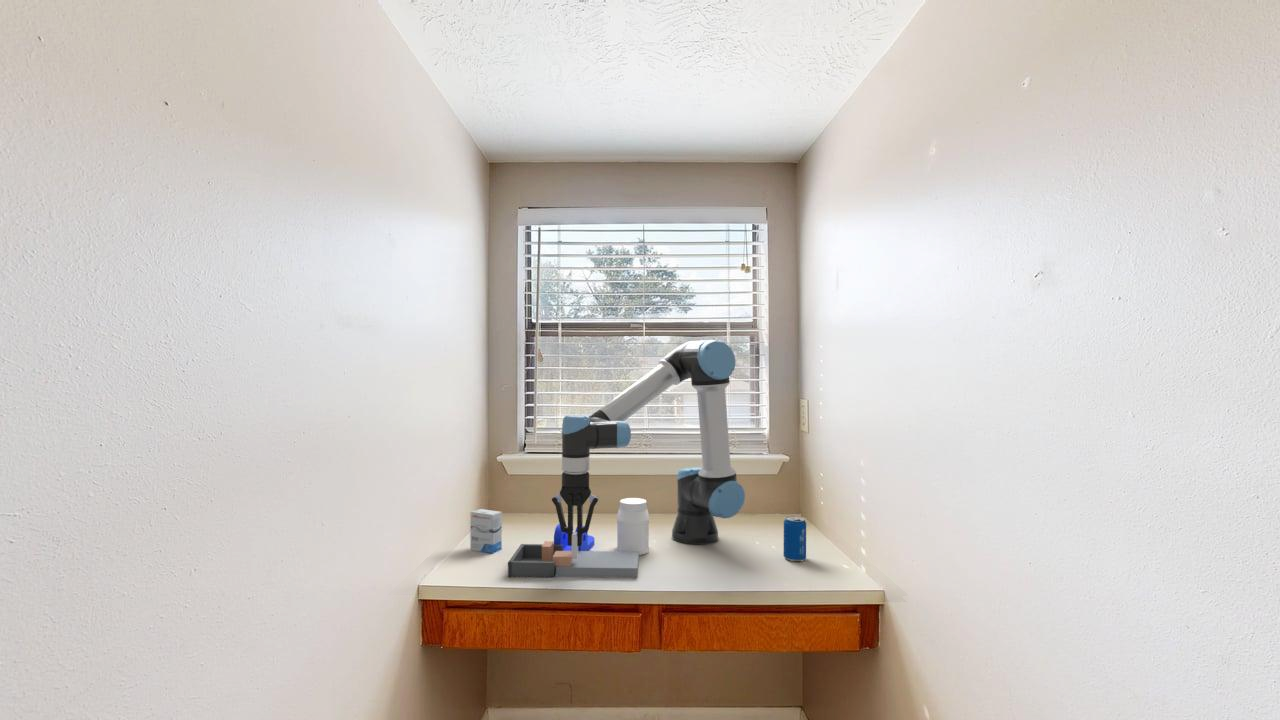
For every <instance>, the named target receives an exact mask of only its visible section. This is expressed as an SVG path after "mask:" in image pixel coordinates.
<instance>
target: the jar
mask: <svg viewBox="0 0 1280 720" xmlns="http://www.w3.org/2000/svg"><path fill="white" fill-rule="evenodd" d="M649 514H650V513H649V510H648V508H647V500H646V499H645V498H639V497H626V498H622V499H620V500H619V508H618V511H617V517H616V520H617V521H616V522H617V526H616V527H617V539H616V542H617V543H616V551H621V552H639V556H643V555H646V553H647V554H648V553H650V552H649V551H650V548H649V540H650V539H649V535H650V534H649V529H650V528H649V525H650V524H649V523H650V517H649V516H650V515H649ZM642 554H643V555H642Z"/></svg>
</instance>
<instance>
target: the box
mask: <svg viewBox="0 0 1280 720" xmlns="http://www.w3.org/2000/svg"><path fill="white" fill-rule="evenodd" d="M543 544H544V543H540V544H539V543H537V544H536V543H535V544H534V543H521V544H520V545H519V546H518V548H517V549H516V551H514V553H513V555H512V556H511V557H510V559H509V560H508V562H507V578H540V579H541V578H545V579H548V578H549V579H550V578H551V579H555V577H556V566H555V562H553V561H552V562H546V561H542V546H543ZM555 551H563V545H556V544H554V553H555ZM554 553H553V555H554Z"/></svg>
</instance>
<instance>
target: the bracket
mask: <svg viewBox="0 0 1280 720" xmlns="http://www.w3.org/2000/svg"><path fill="white" fill-rule="evenodd" d="M566 526H567V527H568V524H566ZM583 527H585V525H583ZM583 527H582V528H583ZM574 532H577V527H576V528H575V531H574ZM588 533H589V531H588V532H585V533H583V534H582V544H581V546H578V551H591V549H592V548H593V547H594V546H595V537H594V536H592V535H589V534H588ZM553 541H554V544H556V545H563V551H572V546H568V534H567V533H565V532H562V531H561V528H560V523H558V524H557V525H556V527H555V529H554V534H553Z"/></svg>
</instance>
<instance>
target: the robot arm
mask: <svg viewBox="0 0 1280 720" xmlns="http://www.w3.org/2000/svg"><path fill="white" fill-rule="evenodd" d="M735 368H736V357H735V353H734V352H733V349H732V348H731V347H730V346H729V345H728V344H727V343H725V342H723V341H722V340H715V339H708V340H690V341H687V342H685V343H683V344H681V345H679V346H678V347H676V348H675V349H674V350H672V351H671V352H669V353H668V354H667V355H666V356H664V357H663V358H661V359H660V360H659V361H658V365H657V366H656V367H655V368H653V369H652V370H651V371H649V372H648V373H646V374H645V375H644V376H642V377H641V378H640V379H638V380H637V381H636V382H634V383H633V384H632V385H630V386H629V387H628V388H626V389H625V390H624V391H622V392H621V393H619V394H618V395H617V396H616V397H614V398H613V399H611V400H610V401H609V402H608V403H606V404H605V405H604V406H602V407H601V408H599V409H597V410H596V411H595V412H594V413H592V414H591V415H587V414H585V415H584V414H569V415H566V416H564V417H563V418H562V426H561V427H562V428H561V443H562V444H561V445H562V447H561V450H562V451H561V453H562V454H561V470H562V471H563V472H562V473H561V489H560V491H559V493H558V494H557V495H556V494H555V495H553V497H552V499H551V501H552V503H553V504H554V507H555V510H556V514H557V518H558V524H560V528H561V531H562V532H565V533H567V534H568V546H572V559H577V558H578V546H581V544H582V534H583V533H585V532H588V533H589V529H590V525H591V523H592V518H593V513H594V509H595V506H596V505H597V503H598V501H599V499H600V498H599V496H598V495H594V494H592V490H591V488H590V472H588V471H589V470H590V450H595V449H596V450H597V449H611V448H612V449H619V448H625V447H627V446H628V445H629V444H630V442H631V438H632V437H631V436H632V433H631V432H632V431H631V427H630V425H629V423H628V422H627V420H628V419H630V417H631V416H633V415H634V414H637V412H639V410H641V409H642V408H644V407H645V406H646V405H648V404H649V403H651V401H652V400H654V399H656V398H657V397H658V396H660V395H661V394H662V393H663V392H665V391H666V390H668V389H669V388H670V387H671V386H678V385H679V384H681V383H682V382H683V381H686V380H688V379H691V386H692V387H693V388H694V389H695V391H696V392H697V393H696V394H697V408H698V420H699V432H700V433H699V434H700V449H701V461H702V462H701V463H702V466H697V467H696V466H695V467H694V466H693V467H685V468H681V469H679V470H678V472H677V479H676V482H677V515H676V516H675V517H676V518H675V520H674V523H673V526H672V530H671V538H672V540H674V541H676V542H678V543H682V544H689V545H707V544H712V543H714V542H717V541H718V540H719V530H718V526H717V524H716V521H715V518H720V519H730V518H732V517H734V516H736V515H737V514H739V512H740V510H741V509H742V508H743V506H744V503H745V500H746V492H745V489H744V487H743V485H741V484H740V482H738V480H737V470H736V469H735V468H734V467H732V464H731V451H730V438H729V427H728V426H729V425H728V423H729V422H728V413H727V412H728V411H727V396H726V395H727V394H726V388H727V387H728V386H729V385H730V376H731V375H732V374H733V372H734V370H735ZM588 499H589V501H588V502H589V503H590V504H589V507H588V512H587V514H586V518H585V519H586V520H585V523H584V525H583V519H584V518H583V517H584V515H583V513H584V512H583V508H584V504H586V502H587V500H588ZM562 500H563V501H564V502H565V504H566V505H567V522H566V518H565V515H564V510H563V506H562V503H561V502H562ZM574 507H576V511H577V512H576V514H577V515H576V517H577V518H576V522H577V523H576V528H577V532H575V531H574ZM714 517H715V518H714ZM566 525H567V526H566ZM583 526H585V527H583ZM582 527H583V528H582Z"/></svg>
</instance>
